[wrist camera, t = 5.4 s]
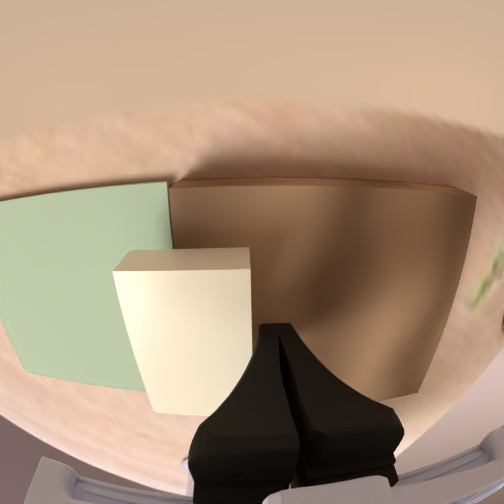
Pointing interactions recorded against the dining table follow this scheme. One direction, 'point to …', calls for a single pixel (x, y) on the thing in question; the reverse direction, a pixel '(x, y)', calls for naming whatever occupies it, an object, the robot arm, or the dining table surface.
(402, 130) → the dining table surface
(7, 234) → the mat
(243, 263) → the tile
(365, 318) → the board
